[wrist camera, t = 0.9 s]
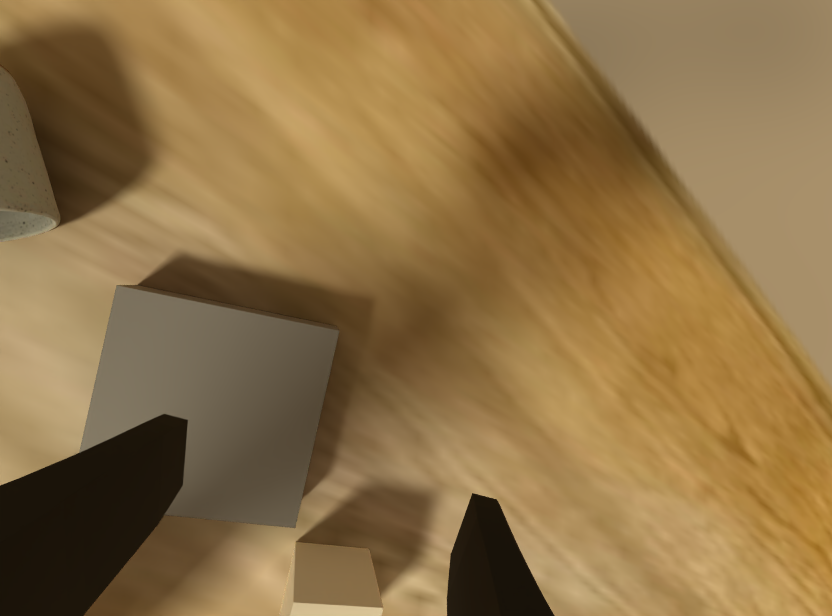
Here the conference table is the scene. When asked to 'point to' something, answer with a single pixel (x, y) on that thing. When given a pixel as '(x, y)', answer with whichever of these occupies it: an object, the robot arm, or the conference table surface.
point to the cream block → (331, 582)
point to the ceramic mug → (22, 170)
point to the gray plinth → (217, 397)
